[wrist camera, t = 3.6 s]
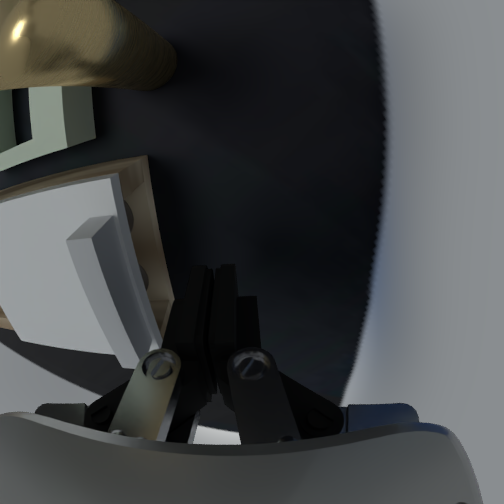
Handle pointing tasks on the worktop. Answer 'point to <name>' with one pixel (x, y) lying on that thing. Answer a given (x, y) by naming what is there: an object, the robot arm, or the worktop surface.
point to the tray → (139, 221)
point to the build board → (47, 122)
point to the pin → (80, 46)
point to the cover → (75, 271)
